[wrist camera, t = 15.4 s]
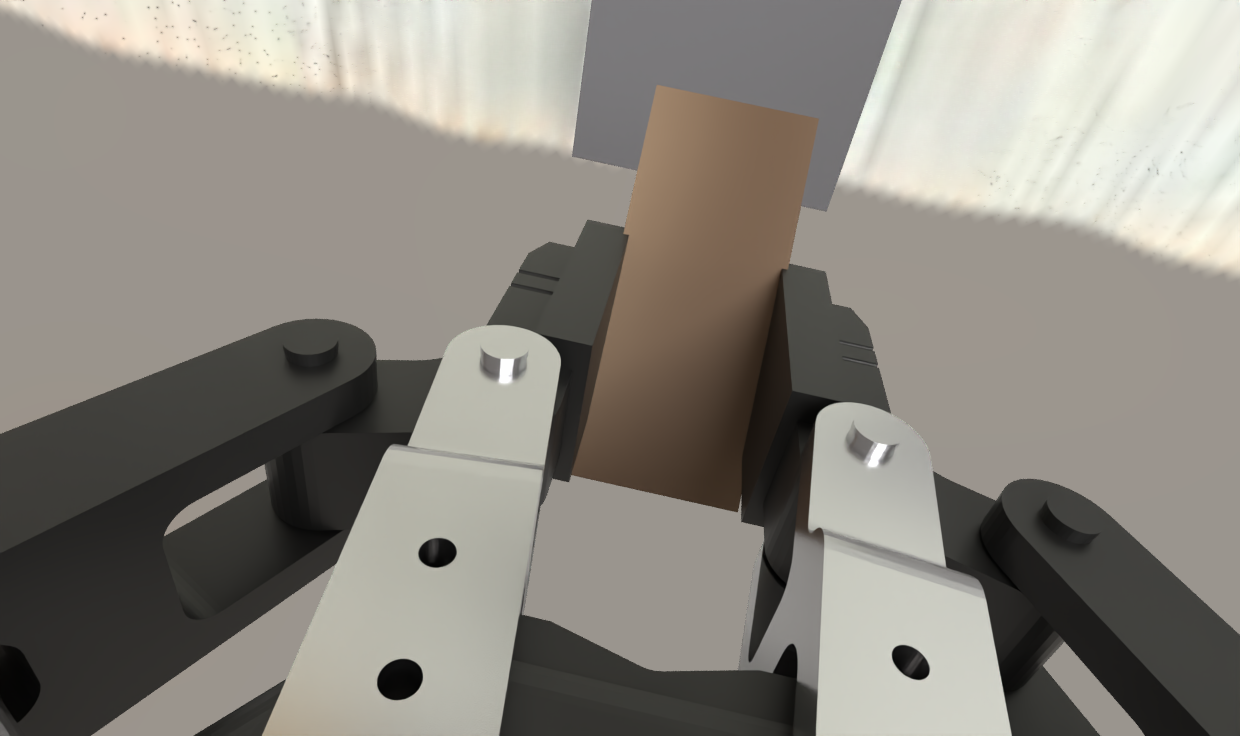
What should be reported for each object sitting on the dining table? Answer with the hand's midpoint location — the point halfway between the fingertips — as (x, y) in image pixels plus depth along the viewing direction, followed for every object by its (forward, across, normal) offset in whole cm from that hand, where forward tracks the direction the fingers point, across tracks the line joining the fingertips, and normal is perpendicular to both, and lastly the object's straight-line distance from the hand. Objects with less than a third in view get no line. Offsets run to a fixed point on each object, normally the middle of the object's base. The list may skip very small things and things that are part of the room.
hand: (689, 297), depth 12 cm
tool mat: (+17, 0, 0) cm, 17 cm away
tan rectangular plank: (+11, 0, +10) cm, 15 cm away
